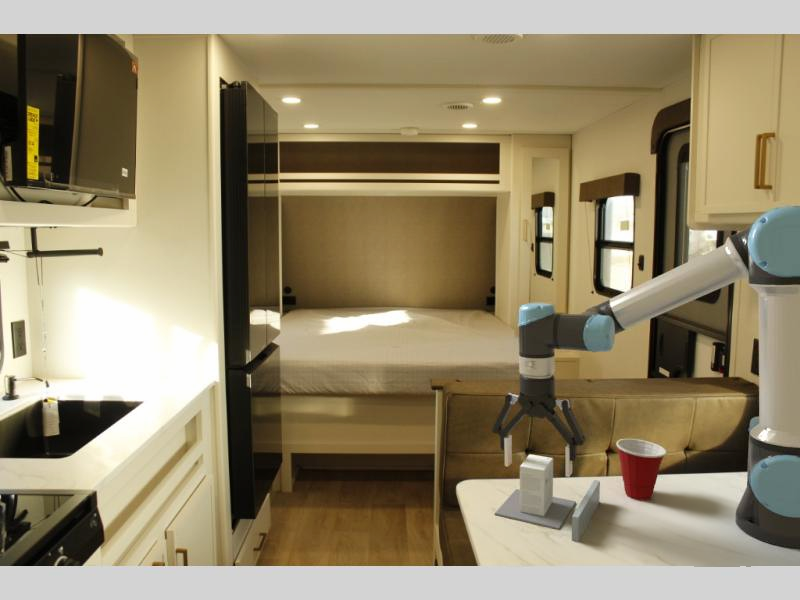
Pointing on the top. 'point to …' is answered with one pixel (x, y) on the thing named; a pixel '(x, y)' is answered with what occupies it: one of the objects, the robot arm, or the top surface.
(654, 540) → the top surface
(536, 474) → the small box
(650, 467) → the plastic cup
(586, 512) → the low wall
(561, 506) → the mat
